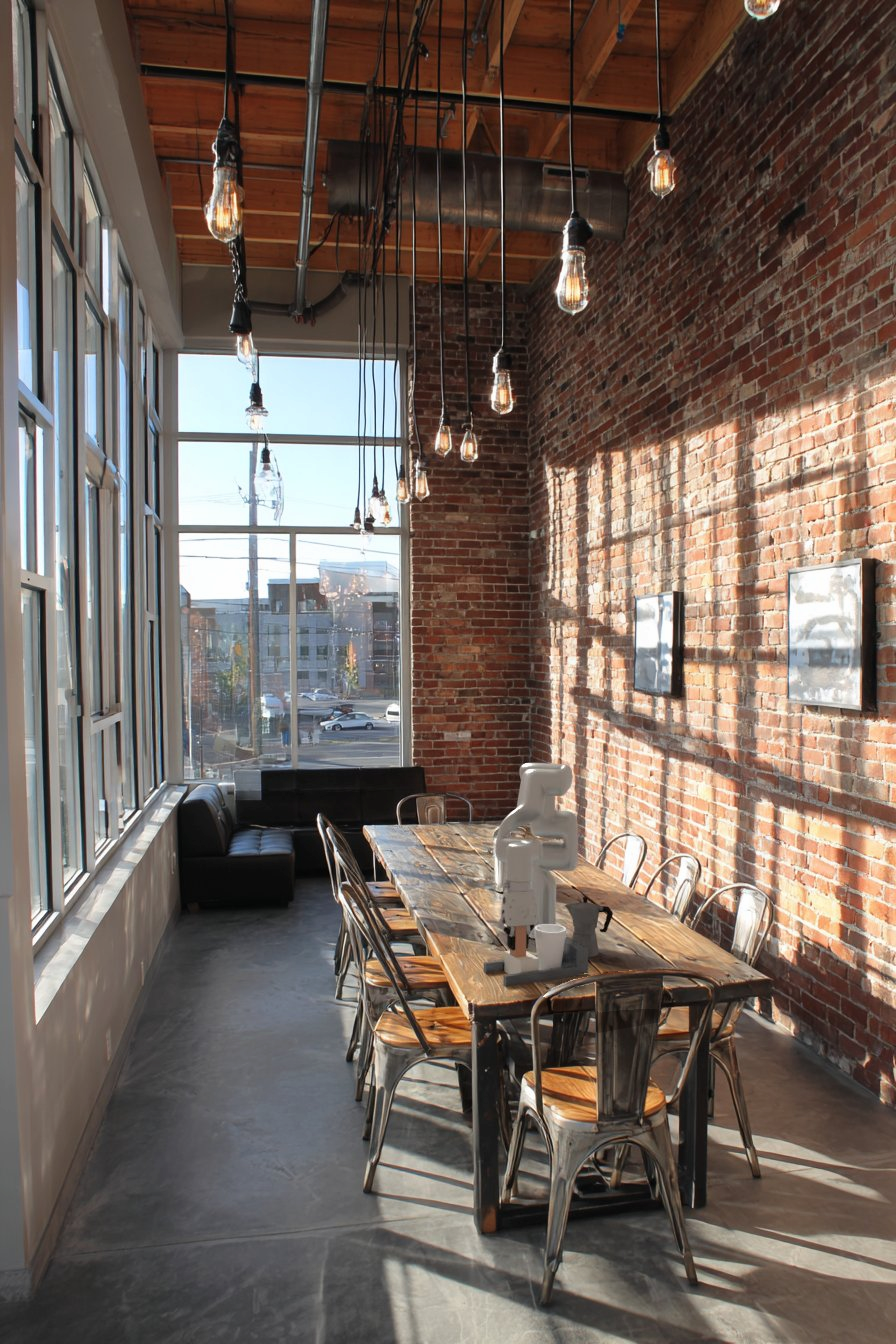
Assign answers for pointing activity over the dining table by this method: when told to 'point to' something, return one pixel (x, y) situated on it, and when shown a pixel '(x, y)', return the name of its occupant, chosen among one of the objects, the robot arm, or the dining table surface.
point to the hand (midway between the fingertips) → (517, 947)
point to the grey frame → (571, 966)
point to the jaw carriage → (520, 955)
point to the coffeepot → (588, 923)
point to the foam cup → (549, 945)
